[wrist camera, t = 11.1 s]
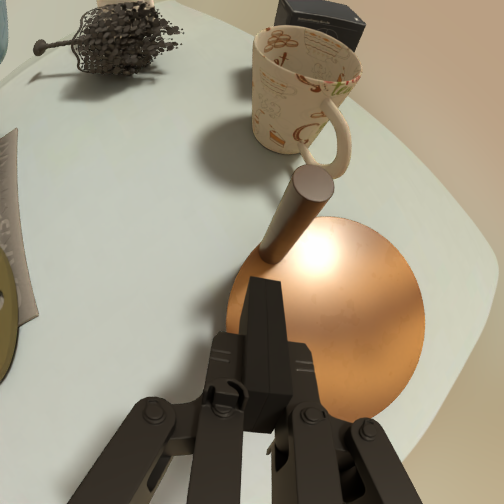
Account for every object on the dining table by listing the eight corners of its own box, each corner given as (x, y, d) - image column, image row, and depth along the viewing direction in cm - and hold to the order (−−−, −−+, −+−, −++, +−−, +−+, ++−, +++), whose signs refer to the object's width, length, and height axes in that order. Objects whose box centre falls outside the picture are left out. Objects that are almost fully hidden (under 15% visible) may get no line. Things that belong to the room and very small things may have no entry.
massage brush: (6, 69, 19) (46, 85, 28) (152, 56, 20) (177, 88, 29) (35, 8, 17) (68, 32, 26) (185, -16, 18) (200, 26, 27)
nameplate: (37, 314, 18) (1, 334, 16) (39, 315, 18) (3, 335, 17) (16, 127, 23) (-12, 147, 22) (17, 128, 23) (-11, 149, 22)
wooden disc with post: (202, 243, 20) (195, 159, 11) (383, 207, 23) (452, 142, 14) (260, 456, 16) (299, 534, 7) (435, 376, 19) (526, 375, 10)
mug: (298, 98, 28) (324, 25, 19) (360, 191, 25) (418, 124, 16) (227, 111, 26) (236, 27, 17) (282, 217, 23) (324, 138, 14)
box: (323, 68, 31) (347, 4, 21) (336, 94, 29) (368, 25, 19) (264, 62, 30) (279, -9, 20) (273, 89, 28) (293, 9, 18)
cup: (139, 14, 32) (135, -33, 23) (179, 31, 31) (178, -27, 21) (96, 34, 30) (86, -15, 20) (129, 53, 28) (120, -9, 19)
